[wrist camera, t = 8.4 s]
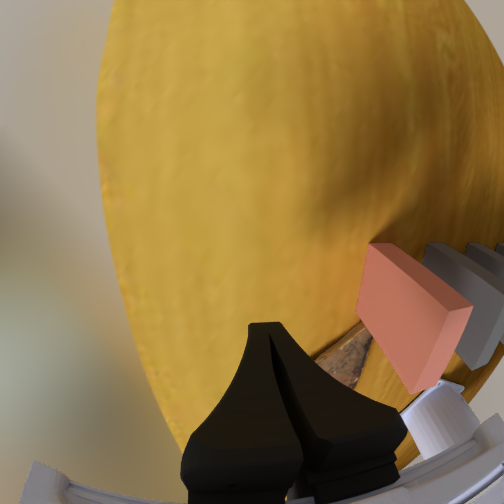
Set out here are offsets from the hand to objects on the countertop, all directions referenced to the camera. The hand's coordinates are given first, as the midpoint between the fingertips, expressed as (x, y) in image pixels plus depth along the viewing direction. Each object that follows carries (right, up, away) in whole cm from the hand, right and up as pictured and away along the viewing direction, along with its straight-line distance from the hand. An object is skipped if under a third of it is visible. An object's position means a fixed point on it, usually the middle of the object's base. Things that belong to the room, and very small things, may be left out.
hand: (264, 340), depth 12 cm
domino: (+13, +2, +6) cm, 14 cm away
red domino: (+8, +2, +6) cm, 10 cm away
